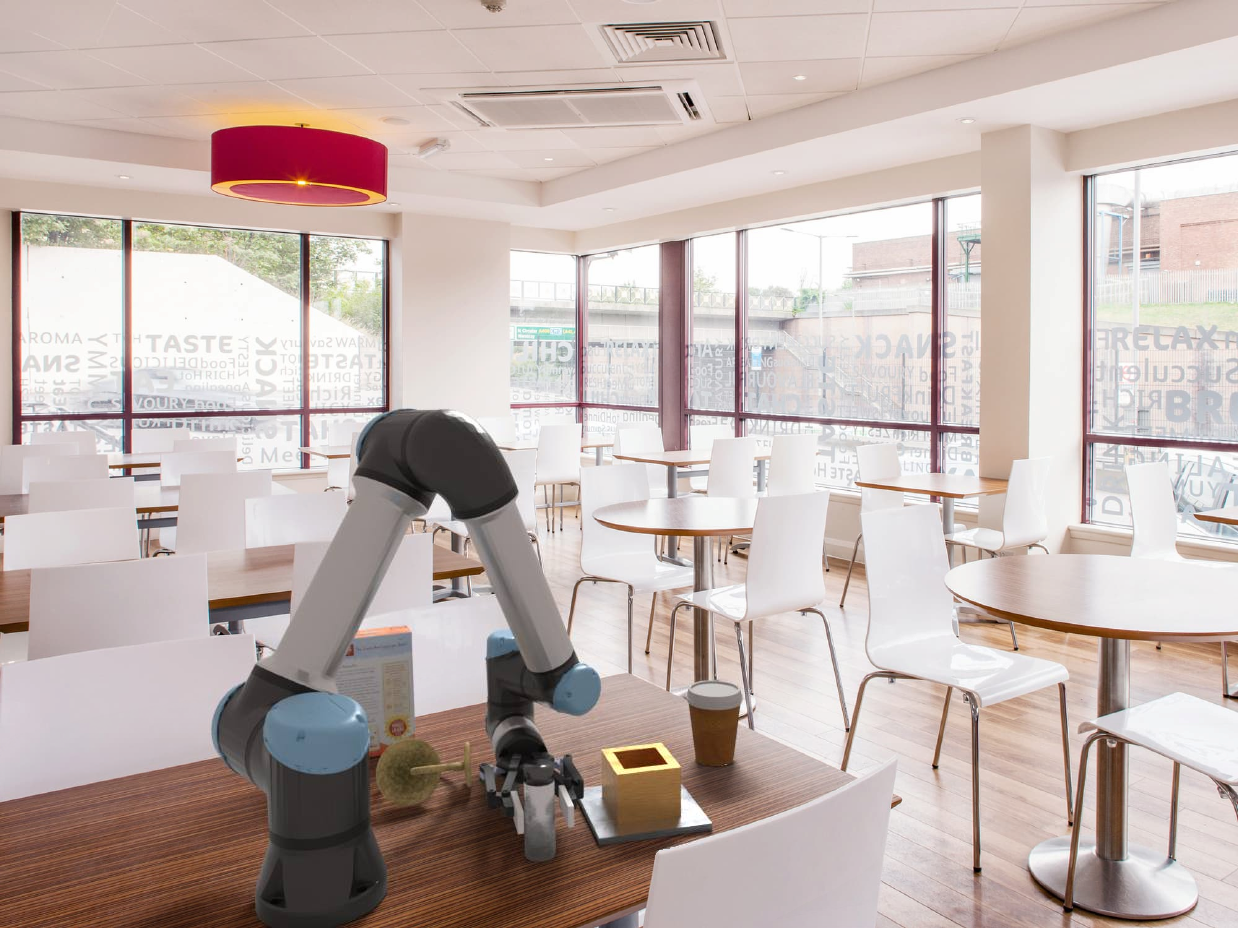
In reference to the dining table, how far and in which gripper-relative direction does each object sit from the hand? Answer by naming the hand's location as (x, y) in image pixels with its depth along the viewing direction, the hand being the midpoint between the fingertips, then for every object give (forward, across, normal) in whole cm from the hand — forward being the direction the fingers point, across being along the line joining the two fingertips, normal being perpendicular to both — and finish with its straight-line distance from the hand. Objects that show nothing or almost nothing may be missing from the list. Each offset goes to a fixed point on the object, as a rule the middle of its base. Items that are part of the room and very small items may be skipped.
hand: (546, 819), depth 112 cm
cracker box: (-47, +22, -7) cm, 53 cm away
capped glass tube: (-5, 0, -7) cm, 9 cm away
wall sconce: (-36, +14, -6) cm, 39 cm away
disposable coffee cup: (-28, -33, -7) cm, 44 cm away
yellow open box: (-13, -16, -7) cm, 22 cm away
